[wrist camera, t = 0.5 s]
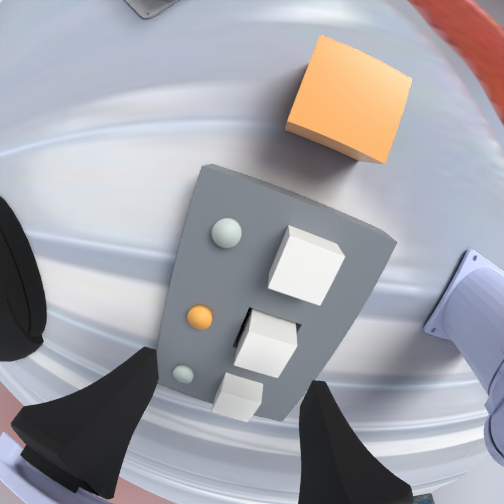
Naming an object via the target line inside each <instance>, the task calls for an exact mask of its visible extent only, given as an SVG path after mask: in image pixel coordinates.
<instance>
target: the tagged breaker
mask: <svg viewBox="0 0 504 504" xmlns="http://www.w3.org/2000/svg"><path fill="white" fill-rule="evenodd" d="M296 348H297V334H296V322H293V321H289V320H286V319H283V318H280V317H277V316H274V315H271V314H268V313H265V312H262V311H259V310H256V309H253V308H252V309H251V311H250V314H249V316H248V318H247V321H246V323H245V325H244V328H243V330H242V332H241V335H240V337H239V342H238V347H237V351H236V356H235V361H234V365H235V366H238V367H241V368H244V369H248V370H251V371H254V372H258V373H261V374H265V375H268V376H272V377H276V378H278V377H279V375H280V374H281V372H282V371H283V369H284V367H285V366H286V364H287V363H288V361H289V359H290V358H291V356H292V354H293V353H294V351H295V349H296Z"/></svg>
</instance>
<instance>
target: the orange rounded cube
mask: <svg viewBox="0 0 504 504" xmlns="http://www.w3.org/2000/svg"><path fill="white" fill-rule="evenodd" d="M411 82H412V79H411V78H409V77H408V76H406V75H404V74H403V73H401V72H399V71H398V70H396V69H394V68H392V67H390V66H389V65H387V64H385V63H383V62H381V61H379V60H377V59H375V58H373V57H371V56H369V55H367V54H365V53H363V52H361V51H359V50H356V49H354V48H352V47H350V46H347V45H345V44H343V43H340V42H338V41H335V40H333V39H330V38H328V37H325V36H322V35H320V37H319V39H318V42H317V44H316V47H315V49H314V52H313V55H312V57H311V60H310V62H309V65H308V67H307V70H306V73H305V75H304V78H303V80H302V83H301V86H300V88H299V91H298V94H297V96H296V99H295V101H294V104H293V107H292V109H291V112H290V115H289V117H288V120H287V123H286V127H285V130H286V131H289V132H291V133H294V134H297V135H299V136H302V137H304V138H307V139H309V140H312V141H314V142H317V143H319V144H322V145H324V146H326V147H329V148H331V149H333V150H336V151H338V152H340V153H342V154H345V155H347V156H349V157H351V158H353V159H355V160H357V161H363V162H372V163H380V164H385V163H386V160H387V157H388V154H389V152H390V149H391V146H392V143H393V140H394V137H395V135H396V132H397V129H398V126H399V122H400V119H401V116H402V113H403V110H404V107H405V103H406V100H407V97H408V93H409V90H410V86H411Z"/></svg>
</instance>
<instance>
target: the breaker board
mask: <svg viewBox="0 0 504 504" xmlns="http://www.w3.org/2000/svg"><path fill="white" fill-rule="evenodd" d="M396 244H397V242H396V241H395V240H394V239H393V238H391V237H390V236H389V235H388V234H387V233H385V232H384V231H383V230H381V229H378V228H376V227H374V226H372V225H370V224H367V223H365V222H363V221H361V220H359V219H356V218H354V217H352V216H349V215H347V214H345V213H342V212H340V211H338V210H335V209H333V208H331V207H328V206H326V205H323V204H321V203H319V202H316V201H314V200H311V199H309V198H306V197H304V196H301V195H298V194H296V193H293V192H291V191H288V190H285V189H283V188H280V187H277V186H275V185H272V184H269V183H267V182H264V181H261V180H258V179H255V178H253V177H250V176H247V175H244V174H241V173H238V172H235V171H232V170H229V169H226V168H223V167H220V166H217V165H214V164H210V165H204V166H202V167H201V170H200V174H199V177H198V180H197V183H196V187H195V190H194V193H193V197H192V200H191V204H190V207H189V211H188V214H187V218H186V222H185V225H184V229H183V233H182V237H181V240H180V244H179V248H178V252H177V256H176V260H175V265H174V269H173V273H172V277H171V282H170V286H169V291H168V295H167V300H166V305H165V310H164V315H163V320H162V325H161V330H160V336H159V341H158V347H157V363H158V374H159V380H158V384H160V385H163V386H165V387H168V388H170V389H173V390H176V391H178V392H181V393H184V394H186V395H189V396H192V397H195V398H198V399H201V400H203V401H207V402H210V403H213V408H212V412H213V413H216V414H219V415H223V416H226V417H230V418H233V419H237V420H241V421H244V422H249V420H250V419H251V417H252V416H253V415H255V416H259V417H263V418H268V419H272V420H277V421H283V419H284V418H285V417H286V416H287V415H288V413H289V412H290V411H291V410H292V409H293V407H294V406H295V405H296V404H297V402H298V401H299V400H300V399H301V397H302V396H303V395H304V393H305V392H306V391H307V389H308V388H309V386H310V384H311V382H312V380H315V379H316V377H317V376H318V375H319V373H320V372H321V371H322V369H323V368H324V366H325V365H326V363H327V362H328V361H329V359H330V358H331V356H332V355H333V353H334V352H335V350H336V349H337V347H338V346H339V344H340V343H341V341H342V340H343V338H344V337H345V335H346V334H347V332H348V330H349V329H350V327H351V326H352V324H353V322H354V321H355V319H356V318H357V316H358V314H359V313H360V311H361V309H362V308H363V306H364V304H365V302H366V301H367V299H368V297H369V295H370V294H371V292H372V290H373V288H374V287H375V285H376V283H377V281H378V279H379V277H380V275H381V274H382V272H383V270H384V268H385V266H386V264H387V262H388V260H389V258H390V256H391V254H392V252H393V250H394V248H395V246H396ZM249 307H250V308H253V309H256V310H259V311H262V312H265V313H268V314H271V315H274V316H277V317H280V318H283V319H286V320H289V321H293V322H296V334H297V348H296V349H295V351H294V353H293V354H292V356H291V358H290V359H289V361H288V363H287V364H286V366H285V367H284V369H283V371H282V372H281V374H280V375H279V377H278V378H276V377H272V376H268V375H265V374H261V373H258V372H254V371H251V370H248V369H244V368H241V367H238V366H235V365H234V361H235V356H236V351H237V347H238V342H239V337H240V335H241V332H242V330H243V329H242V328H241V325H242V323H243V321H244V318H245V316H246V314H247V311H248V309H249Z"/></svg>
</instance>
